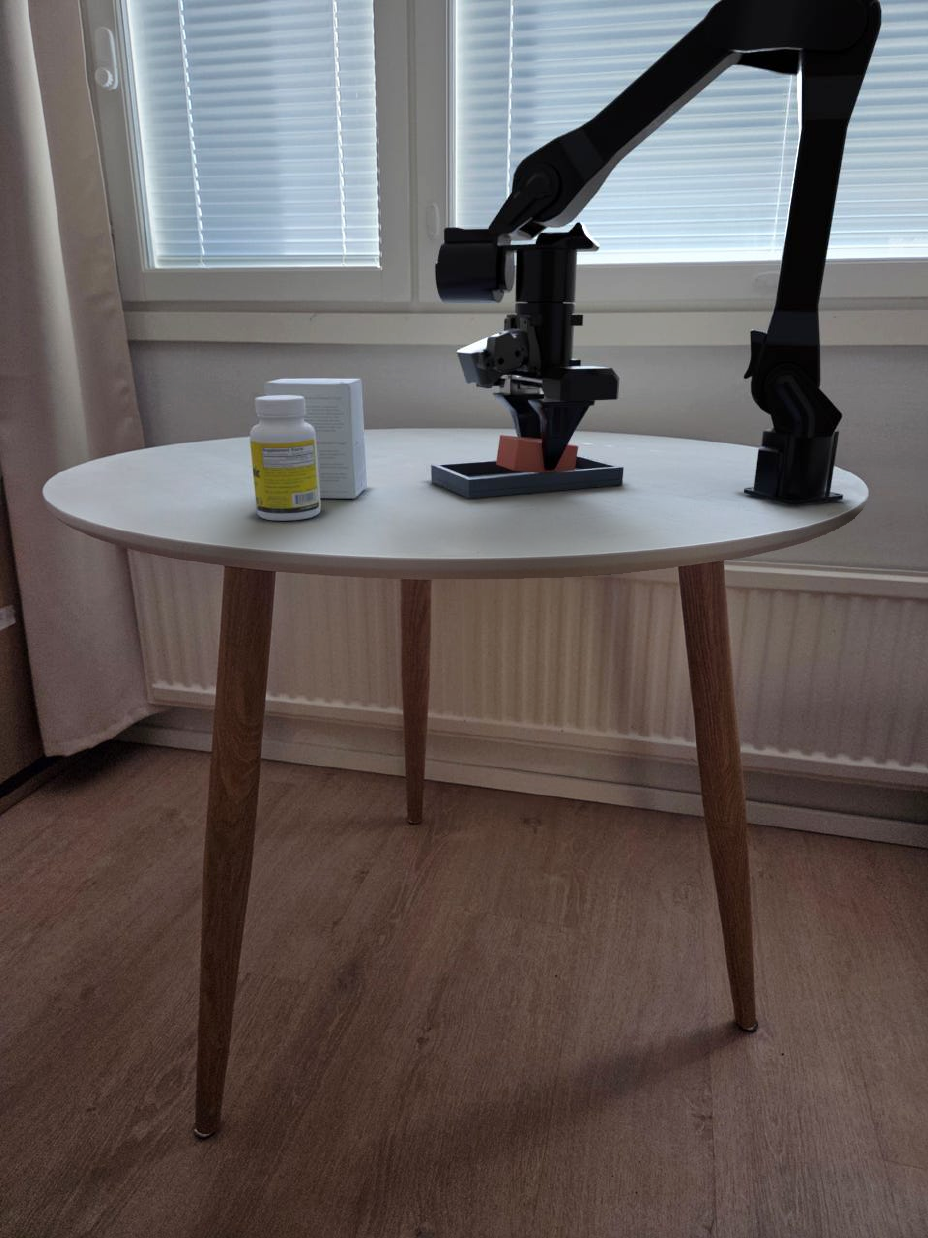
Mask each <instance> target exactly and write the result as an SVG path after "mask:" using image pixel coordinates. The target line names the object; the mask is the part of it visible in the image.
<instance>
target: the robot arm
mask: <svg viewBox="0 0 928 1238" xmlns="http://www.w3.org/2000/svg"><path fill="white" fill-rule="evenodd" d="M882 13H883V12H882V6H881V2H880V0H719V1H717V2H716V3H714V4H713V5H712V7H710V9H709V10H708V12H707V14H705V16H704V17H703V18H702V19H701V20H700V21H699V22H698V23H697V24H696V25H694V26H693V27H692V28H691V29H690V30H689V31H688V32H686V34H684V35H683V36H682V37H681V38H680V39H679V40H678V41H677V42H675V44H674V45H672V47H670V48H669V49H668V50H666V52H665V53H664V54H663V55H662V56H660V57H659V58H658V59H657V60H656V61H655V62H654V63H652V64H651V66H649V67H648V68H647V69H646V70H644V72H643V73H641V74H640V75H639V76H638V77H637V78H636V79H635V80H634V81H632V82H631V84H629V85H628V86H627V87H626V88H625V89H624V90H623V91H622V92H621V93H619V94H618V95H617V96H616V97H615V98H613V99H612V101H610V103H608V104H607V105H606V106H605V107H604V108H602V109H601V110H600V111H599V112H598V113H597V114H596V115H595V116H594V117H592V118H591V119H590V120H588V121H586V122H585V123H583V124H582V125H580V126H578V127H576V128H573V129H572V130H569V131H567V132H565V133H563V134H561V135H559V136H556V137H555V138H553V139H552V140H550V141H548V142H547V143H546V144H544V145H542V146H540V147H539V148H538V149H536V150H534V151H533V152H532V153H530V154H528V155H527V156H526V157H524V158H523V159H522V160H521V161H520V163H519V164H518V165H517V167H516V168H515V170H514V173H513V175H512V185H511V192H510V194H509V195H508V197H507V198H506V199H505V201H504V203H503V204H502V206H501V207H500V209H499V210H498V212H497V214H496V215H495V216H494V218H493V220H492V221H491V222H490V224H489V226H488V228H461V227H457V226H451V227H444V228H443V241H442V243H441V244H440V247H439V250H438V255H437V262H435V265H434V275H435V285H436V289H437V291H436V292H437V294H438V296H439V299H440V300H441V302H442V303H444V304H499V303H501V302H502V300H503V299H504V296H505V293H510V292H512V291H513V288H514V284H515V293H514V295H515V297H514V298H515V299H514V301H515V303H514V314H513V313H512V314H511V313H510V314H509V313H508V314H506V317H505V318H504V320H503V331H499V332H498V333H496V334H493V335H489V336H487V337H484V338H483V339H480V340H478V341H475V342H473V343H471V344H468V345H466V346H464V347H462V348H459V349H457V351H456V354H457V357H458V360H459V361H458V362H459V364H460V367H461V370H462V372H463V376H464V380H465V382H466V384H471V383H474V384H475V386H476V388H482V389H492V388H493V387H498V388H499V390H498V392H492V396H493V397H494V398H495V399H497V400H498V401H499V402H500V403H502V404H503V405H504V407H505V408H507V409H508V411H509V413H510V416H511V420H512V423H513V426H514V429H515V433H516V437H524V438H534V439H541V441H542V453H543V461H544V468H545V470H554V469H555V468H556V466H557V464H558V462H559V460H560V458H561V457H562V455H563V453H564V451H565V449H566V447H567V445H568V444H570V441H571V439H572V437H573V435H574V433H575V432H576V430H577V428H578V426H579V425H580V424H581V422H582V420H583V418H584V416H585V415H586V413H587V412H588V410H589V409H590V407H593V406H595V404H596V401H616V400H618V399H619V394H620V393H619V390H620V377H619V375H618V374H617V373H616V371H615V370H614V369H613V368H612V367H607V366H595V365H582V359H578V358H573V353H574V352H573V351H574V332H575V331H574V330H575V327H583V326H584V314H575V312H576V311H575V310H576V291H577V288H576V287H577V268H578V267H577V265H578V253H589V252H590V253H591V252H593V253H594V252H598V251H599V250H600V243H598V242H597V241H596V240H595V239H594V238H593V237H592V236H591V235H590V233H589V232H588V230H587V227H586V225H585V224H583V223H582V222H579V221H578V222H575V223H574V226H572V227H571V229H570V230H568V231H553V232H544V231H545V230H547V229H548V228H551V229H552V228H553V229H558V228H559V229H560V228H562V227H565V226H567V225H569V224H570V223H572V222H573V221H574V220H575V219H576V218H577V217H578V216H579V215H580V213H581V212H582V211H583V210H584V209H585V208H586V207H587V206H588V205H589V203H590V202H591V201H592V200H593V198H594V197H595V196H596V195H597V193H598V192H599V191H600V189H601V188H602V186H603V185H604V183H605V182H606V180H607V179H608V178H609V177H610V175H611V173H612V172H613V171H614V169H615V168H616V167H617V166H618V165H619V163H620V162H621V161H622V160H623V159H624V158H626V157H627V156H628V155H629V154H631V153H632V151H634V150H635V149H636V148H637V147H638V146H639V145H641V144H642V143H643V142H644V141H646V139H648V138H649V137H650V136H651V135H652V134H653V133H655V132H656V131H657V130H658V129H659V128H660V127H662V126H663V125H664V124H665V123H666V122H667V121H669V120H670V119H671V118H672V117H673V116H675V114H677V113H678V112H679V111H680V110H682V108H684V107H685V106H686V105H687V104H688V103H689V102H691V101H692V100H693V99H694V98H695V97H697V96H698V95H699V94H700V93H701V92H702V91H703V90H705V89H706V88H707V87H708V86H709V85H710V84H712V83H713V82H714V81H715V80H716V79H717V78H718V77H720V76H721V75H722V74H723V73H724V72H725V71H726V70H728V69H729V68H731V67H744V68H749V69H754V70H758V71H763V72H768V73H772V74H777V75H782V76H783V75H784V76H797V77H796V78H797V110H798V112H797V113H798V132H799V133H798V143H797V148H796V149H797V151H796V157H795V164H794V171H793V176H792V183H791V191H790V196H789V197H790V198H789V205H788V210H787V218H786V224H785V231H784V239H783V245H782V253H781V259H780V266H779V271H778V279H777V286H776V292H775V299H774V305H773V309H772V311H771V315H770V318H769V321H768V324H767V327H766V330H759V329H754V328H753V329H751V330H750V332H749V333H750V334H749V337H750V360H749V363H748V366H747V367H746V369H745V371H744V374H743V379H744V380H748V379H750V393H751V396H752V400H753V401H754V403H755V404H756V405H757V406H758V408H759V409H760V410H761V411H763V412H764V413H766V414H768V415H770V418H771V422H772V426H773V427H770V428H768V429H763V430H762V435H761V436H762V437H761V444H760V446H759V447H758V449H757V457H756V465H755V473H754V482H753V486H750V487H744V488H743V493H744V494H746V495H750V496H753V497H758V498H761V499H766V500H770V501H773V502H777V503H782V504H785V505H789V506H798V505H806V504H809V505H810V504H817V503H825V502H836V501H843V500H844V494H843V493H839V492H835V491H834V492H833V491H832V489H831V488H832V483H833V476H834V469H835V464H836V463H835V462H836V456H837V450H838V442H839V436H840V430H837V428H838V426H839V424H840V423H841V420H842V418H843V413H842V412H841V411H840V409H839V408H838V407H837V406H836V405H835V403H833V402H832V400H831V399H830V398H829V397H828V396H827V395H826V394H825V392H823V391H822V389H821V388H820V387H821V381H822V380H821V379H822V378H821V337H820V335H821V334H820V316H819V314H820V313H819V310H820V309H819V305H820V298H821V293H822V286H823V279H824V274H825V267H826V262H827V257H828V251H829V250H828V249H829V243H830V237H831V231H832V224H833V219H834V213H835V208H836V207H835V206H836V201H837V195H838V189H839V182H840V176H841V171H842V170H841V169H842V164H843V159H844V151H845V145H846V141H847V133H848V128H849V124H850V122H851V118H852V115H853V112H854V109H855V106H856V103H857V101H858V98H859V95H860V92H861V88H862V86H863V83H864V80H865V77H866V75H867V72H868V68H869V65H870V62H871V59H872V56H873V53H874V50H875V47H876V44H877V41H878V37H879V36H880V35H879V34H880V32H881V28H882V16H883V15H882ZM535 238H536V240H535V242H534V243H522V244H512V241H514V242H515V241H516V242H517V241H519V242H520V241H521V242H522V241H532V240H534V239H535ZM515 254H516V255H515ZM515 256H516V257H515ZM515 260H516V261H515Z"/></svg>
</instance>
